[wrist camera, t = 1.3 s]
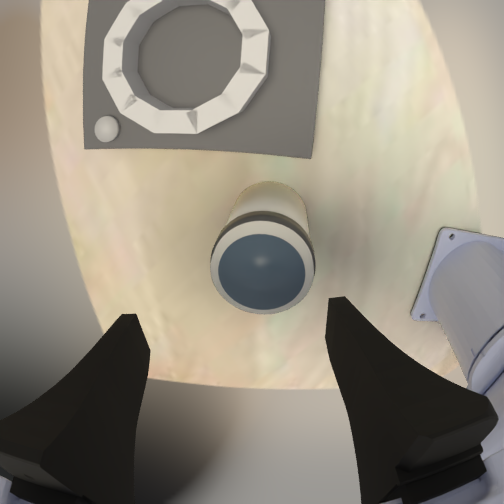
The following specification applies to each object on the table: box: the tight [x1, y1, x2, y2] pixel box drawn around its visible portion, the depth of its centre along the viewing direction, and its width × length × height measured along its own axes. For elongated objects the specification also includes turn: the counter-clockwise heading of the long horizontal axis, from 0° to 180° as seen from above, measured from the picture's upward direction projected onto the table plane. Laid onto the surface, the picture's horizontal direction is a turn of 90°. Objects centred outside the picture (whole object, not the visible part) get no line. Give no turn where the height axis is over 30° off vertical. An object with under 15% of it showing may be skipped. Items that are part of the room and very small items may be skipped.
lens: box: [210, 181, 315, 314], centre depth 18 cm, size 5×5×7 cm
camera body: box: [83, 0, 325, 159], centre depth 15 cm, size 14×11×4 cm
